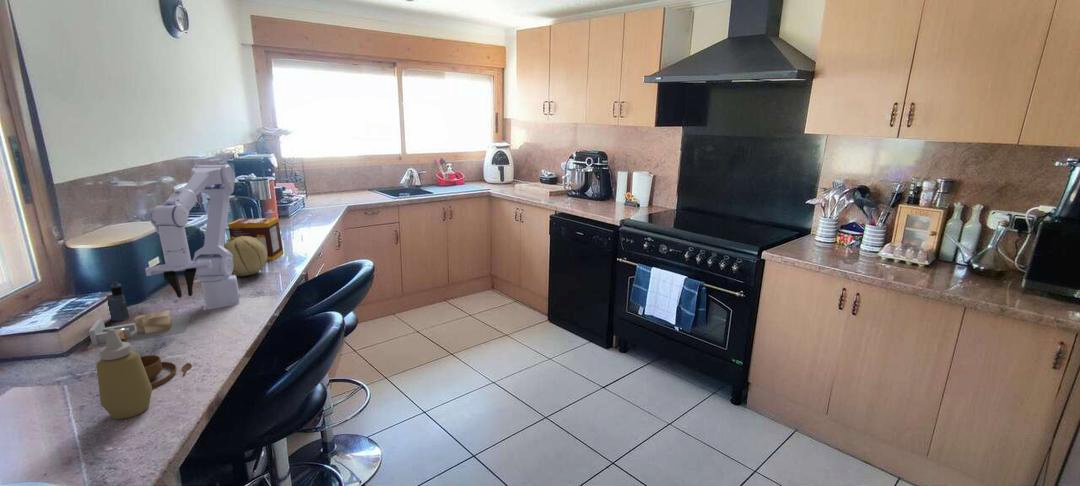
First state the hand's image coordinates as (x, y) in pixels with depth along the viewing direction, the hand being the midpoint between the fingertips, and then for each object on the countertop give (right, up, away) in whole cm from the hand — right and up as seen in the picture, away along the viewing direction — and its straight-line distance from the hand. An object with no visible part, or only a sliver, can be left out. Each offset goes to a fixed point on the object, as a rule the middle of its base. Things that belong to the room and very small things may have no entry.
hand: (185, 295), depth 136 cm
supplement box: (-17, +9, +66) cm, 68 cm away
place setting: (+7, -16, -22) cm, 28 cm away
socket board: (-10, -10, -3) cm, 14 cm away
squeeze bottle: (+16, -20, -37) cm, 45 cm away
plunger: (-12, -10, -7) cm, 17 cm away
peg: (-6, -9, -1) cm, 11 cm away
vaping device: (-22, -8, +5) cm, 24 cm away
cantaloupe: (-9, +3, +44) cm, 45 cm away
